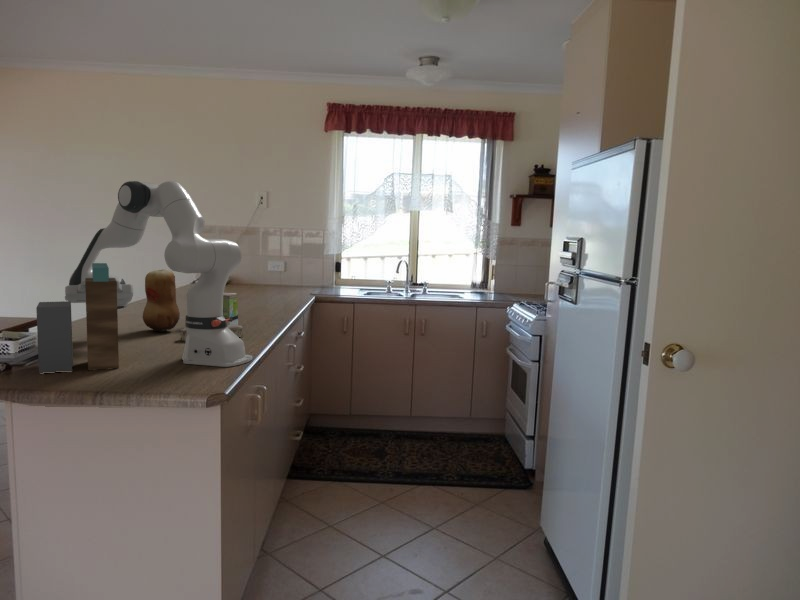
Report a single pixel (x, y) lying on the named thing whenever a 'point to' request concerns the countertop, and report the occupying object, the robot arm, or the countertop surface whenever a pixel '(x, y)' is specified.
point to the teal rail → (100, 272)
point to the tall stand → (102, 324)
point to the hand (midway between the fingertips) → (100, 283)
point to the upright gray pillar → (54, 336)
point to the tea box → (230, 308)
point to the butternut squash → (160, 301)
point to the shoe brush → (234, 328)
